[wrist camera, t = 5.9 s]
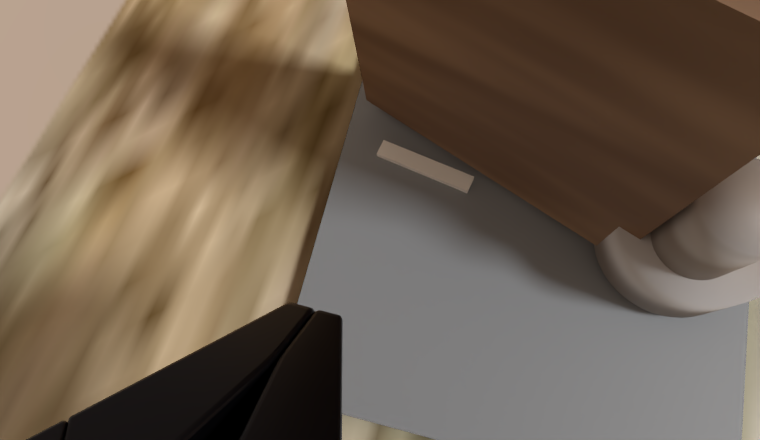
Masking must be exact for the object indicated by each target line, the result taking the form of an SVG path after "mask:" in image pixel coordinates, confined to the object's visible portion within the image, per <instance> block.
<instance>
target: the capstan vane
mask: <svg viewBox="0 0 760 440" xmlns="http://www.w3.org/2000/svg"><path fill="white" fill-rule="evenodd" d="M346 2H347V7H348V12H349V17H350V22H351V27H352V31H353V36H354V41H355V46H356V51H357V56H358V61H359V66H360V71H361V75H362V80H363V85H364V90H365V95H366V100H367V101H369V102H370V103H372V104H373V105H375V106H376V107H378V108H380V109H381V110H383V111H384V112H386V113H387V114H389V115H391V116H392V117H394V118H395V119H397V120H399V121H400V122H402V123H403V124H405V125H406V126H408V127H410V128H411V129H413V130H414V131H416V132H417V133H419V134H421V135H422V136H424V137H425V138H427V139H429V140H430V141H432V142H433V143H435V144H436V145H438V146H440V147H441V148H443V149H444V150H446V151H447V152H449V153H451V154H452V155H454V156H455V157H457V158H459V159H460V160H462V161H463V162H465V163H466V164H468V165H470V166H471V167H473V168H474V169H476V170H478V171H479V172H481V173H482V174H484V175H485V176H487V177H489V178H490V179H492V180H493V181H495V182H496V183H498V184H500V185H501V186H503V187H504V188H506V189H508V190H509V191H511V192H512V193H514V194H515V195H517V196H519V197H520V198H522V199H523V200H525V201H526V202H528V203H530V204H531V205H533V206H534V207H536V208H538V209H539V210H541V211H542V212H544V213H545V214H547V215H549V216H550V217H552V218H553V219H555V220H556V221H558V222H560V223H561V224H563V225H564V226H566V227H568V228H569V229H571V230H572V231H574V232H575V233H577V234H579V235H580V236H582V237H583V238H585V239H586V240H588V241H590V242H591V243H593V244H594V249H595V254H596V257H597V260H598V263H599V265H600V268H601V270H602V272H603V273H604V275H605V277H606V278H607V280H608V281H609V282H610V284H611V285H612V286H613V287H614V288H615V289H616V290H617V291H618V292H619V293H620V294H621V295H622V296H623V297H624V298H626V299H627V300H628V301H630V302H631V303H633V304H634V305H636V306H638V307H640V308H642V309H644V310H646V311H649V312H651V313H654V314H658V315H661V316H667V317H676V318H686V317H694V316H699V315H703V314H707V313H711V312H714V311H718V310H721V309H725V308H729V307H732V306H736V305H739V304H743V303H746V302H749V301H752V300H754V299H757V298H759V297H760V160H759V159H754V158H756V157H757V156H759V155H760V0H346Z"/></svg>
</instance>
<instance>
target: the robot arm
mask: <svg viewBox="0 0 760 440" xmlns="http://www.w3.org/2000/svg"><path fill="white" fill-rule="evenodd" d="M342 339H343V320H342V317H341V316H340V315H337V314H334V313H330V312H326V311H322V310H318V311H314V309H313V308H311V307H307V306H303V305H300V304H296V303H287V304H285V305H283V306H281V307H279V308H277V309H275V310H273V311H271V312H269V313H268V314H266V315H264V316H262V317H260V318H258V319H256V320H254V321H252V322H250V323H248V324H247V325H245V326H243V327H241V328H239V329H237V330H235V331H233V332H231V333H229V334H227V335H226V336H224V337H222V338H220V339H218V340H216V341H214V342H212V343H210V344H208V345H206V346H205V347H203V348H201V349H199V350H197V351H195V352H193V353H191V354H189V355H187V356H185V357H184V358H182V359H180V360H178V361H176V362H174V363H172V364H170V365H168V366H166V367H164V368H163V369H161V370H159V371H157V372H155V373H153V374H151V375H149V376H147V377H145V378H144V379H142V380H140V381H138V382H136V383H134V384H132V385H130V386H128V387H126V388H124V389H123V390H121V391H119V392H117V393H115V394H113V395H111V396H109V397H107V398H105V399H103V400H102V401H100V402H98V403H96V404H94V405H92V406H90V407H88V408H86V409H84V410H82V411H81V412H79V413H77V414H75V415H73V416H71V417H70V418H69V420H68V422H66V421H61V422H59V423H57V424H55V425H53V426H51V427H50V428H48V429H46V430H44V431H42V432H40V433H38V434H36V435H34V436H32V437H30V438H28V439H26V440H342Z"/></svg>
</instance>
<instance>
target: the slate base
mask: <svg viewBox="0 0 760 440" xmlns="http://www.w3.org/2000/svg"><path fill="white" fill-rule="evenodd" d="M754 159H756V158H754ZM297 304H300V305H303V306H307V307H311V308H313V309H314V311H318V310H322V311H326V312H330V313H334V314H337V315H340V316H341V317H342V320H343V339H342V414H344V415H348V416H351V417H355V418H359V419H362V420H366V421H370V422H373V423H377V424H381V425H384V426H388V427H392V428H395V429H399V430H403V431H406V432H410V433H414V434H417V435H421V436H425V437H428V438H432V439H436V440H742V424H743V405H744V385H745V366H746V347H747V328H748V309H749V302H746V303H743V304H739V305H736V306H732V307H729V308H725V309H721V310H718V311H714V312H711V313H707V314H703V315H699V316H694V317H686V318H676V317H667V316H661V315H658V314H654V313H651V312H649V311H646V310H644V309H642V308H640V307H638V306H636V305H634V304H633V303H631V302H630V301H628V300H627V299H626V298H624V297H623V296H622V295H621V294H620V293H619V292H618V291H617V290H616V289H615V288H614V287H613V286H612V285H611V284H610V282H609V281H608V280H607V278H606V277H605V275H604V273H603V272H602V270H601V268H600V265H599V263H598V260H597V257H596V254H595V249H594V244H593V243H591V242H590V241H588V240H586V239H585V238H583V237H582V236H580V235H579V234H577V233H575V232H574V231H572V230H571V229H569V228H568V227H566V226H564V225H563V224H561V223H560V222H558V221H556V220H555V219H553V218H552V217H550V216H549V215H547V214H545V213H544V212H542V211H541V210H539V209H538V208H536V207H534V206H533V205H531V204H530V203H528V202H526V201H525V200H523V199H522V198H520V197H519V196H517V195H515V194H514V193H512V192H511V191H509V190H508V189H506V188H504V187H503V186H501V185H500V184H498V183H496V182H495V181H493V180H492V179H490V178H489V177H487V176H485V175H484V174H482V173H481V172H479V171H478V170H476V169H474V168H473V167H471V166H470V165H468V164H466V163H465V162H463V161H462V160H460V159H459V158H457V157H455V156H454V155H452V154H451V153H449V152H447V151H446V150H444V149H443V148H441V147H440V146H438V145H436V144H435V143H433V142H432V141H430V140H429V139H427V138H425V137H424V136H422V135H421V134H419V133H417V132H416V131H414V130H413V129H411V128H410V127H408V126H406V125H405V124H403V123H402V122H400V121H399V120H397V119H395V118H394V117H392V116H391V115H389V114H387V113H386V112H384V111H383V110H381V109H380V108H378V107H376V106H375V105H373V104H372V103H370V102H369V101H367V100H366V95H365V90H364V85H363V80H362V84H361V87H360V90H359V94H358V97H357V101H356V104H355V108H354V111H353V114H352V118H351V121H350V125H349V128H348V132H347V135H346V138H345V142H344V145H343V149H342V152H341V156H340V159H339V162H338V166H337V169H336V173H335V176H334V180H333V183H332V186H331V190H330V193H329V197H328V200H327V204H326V207H325V210H324V214H323V217H322V221H321V224H320V228H319V231H318V234H317V238H316V241H315V245H314V248H313V252H312V255H311V258H310V262H309V265H308V269H307V272H306V276H305V279H304V282H303V286H302V289H301V293H300V296H299V300H298V303H297Z"/></svg>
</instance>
